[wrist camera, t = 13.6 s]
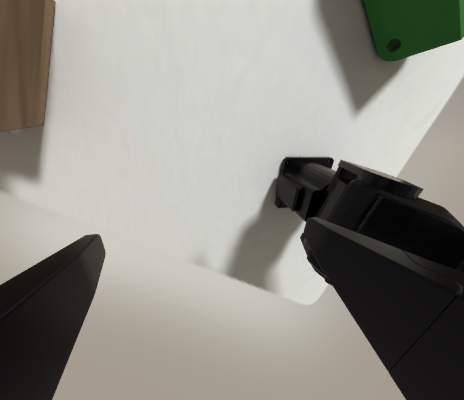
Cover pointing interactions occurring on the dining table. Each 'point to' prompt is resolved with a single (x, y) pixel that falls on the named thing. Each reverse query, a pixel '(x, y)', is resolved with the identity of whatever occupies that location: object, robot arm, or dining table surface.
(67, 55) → the dining table surface
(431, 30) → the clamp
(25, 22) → the end holder
